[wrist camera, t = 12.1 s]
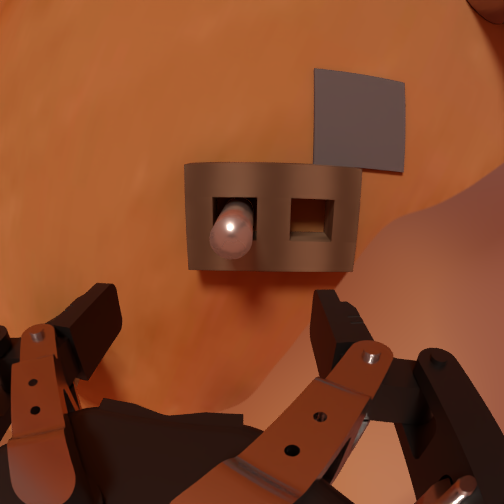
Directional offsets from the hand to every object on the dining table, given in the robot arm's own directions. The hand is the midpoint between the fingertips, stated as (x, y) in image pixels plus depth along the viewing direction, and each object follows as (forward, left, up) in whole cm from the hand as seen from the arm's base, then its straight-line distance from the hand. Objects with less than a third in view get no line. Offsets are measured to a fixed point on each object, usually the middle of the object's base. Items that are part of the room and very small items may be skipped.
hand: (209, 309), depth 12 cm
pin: (0, 0, -20) cm, 20 cm away
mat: (-12, -10, -20) cm, 26 cm away
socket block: (-3, 0, -20) cm, 20 cm away
